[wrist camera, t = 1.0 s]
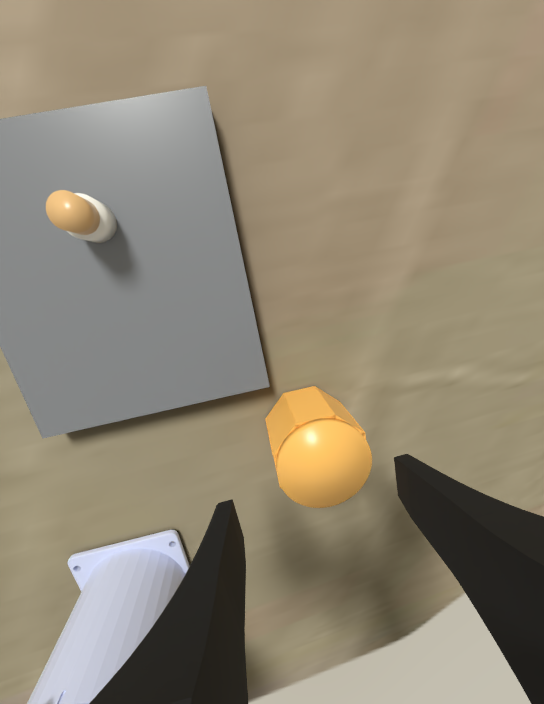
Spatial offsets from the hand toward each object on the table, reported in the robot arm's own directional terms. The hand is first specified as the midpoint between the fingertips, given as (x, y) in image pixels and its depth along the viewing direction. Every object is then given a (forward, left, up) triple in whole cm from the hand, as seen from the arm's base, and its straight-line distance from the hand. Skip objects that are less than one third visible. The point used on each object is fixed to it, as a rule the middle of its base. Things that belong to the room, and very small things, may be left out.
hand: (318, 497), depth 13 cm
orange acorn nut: (-1, -1, -8) cm, 9 cm away
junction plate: (+11, +8, -8) cm, 16 cm away
